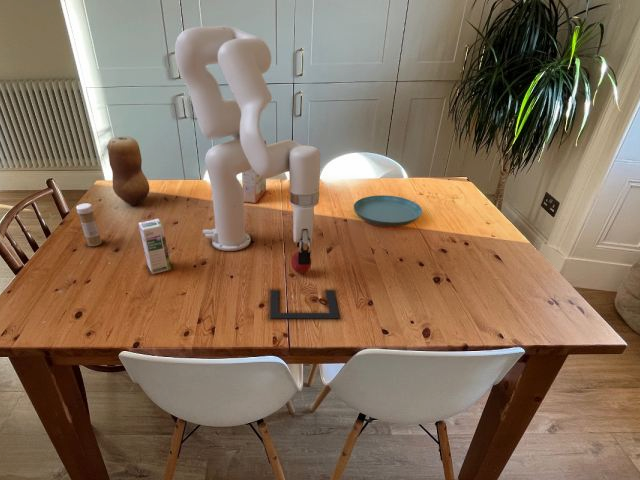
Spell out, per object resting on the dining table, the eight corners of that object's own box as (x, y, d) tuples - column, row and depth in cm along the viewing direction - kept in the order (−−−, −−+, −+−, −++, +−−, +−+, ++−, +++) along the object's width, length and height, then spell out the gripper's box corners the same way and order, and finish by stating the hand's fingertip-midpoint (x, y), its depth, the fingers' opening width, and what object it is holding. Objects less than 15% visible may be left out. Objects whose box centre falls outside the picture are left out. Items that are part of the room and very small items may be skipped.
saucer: (389, 198, 163) (391, 190, 161) (435, 221, 145) (437, 213, 143) (339, 210, 154) (340, 202, 152) (381, 236, 136) (383, 227, 134)
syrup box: (152, 275, 118) (142, 229, 110) (147, 265, 123) (137, 221, 114) (171, 270, 120) (163, 225, 112) (166, 261, 125) (158, 217, 116)
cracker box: (257, 203, 160) (255, 149, 148) (242, 202, 161) (239, 148, 149) (267, 191, 171) (266, 139, 159) (253, 189, 172) (251, 138, 160)
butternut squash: (158, 202, 162) (146, 137, 148) (128, 212, 154) (113, 145, 140) (138, 193, 170) (125, 131, 156) (109, 203, 162) (93, 138, 148)
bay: (270, 318, 101) (270, 318, 101) (271, 291, 111) (271, 290, 111) (339, 319, 101) (339, 318, 101) (333, 291, 111) (333, 290, 111)
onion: (309, 279, 115) (310, 255, 111) (289, 277, 116) (289, 253, 112) (312, 269, 120) (313, 245, 116) (292, 267, 121) (293, 243, 117)
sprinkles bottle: (101, 239, 137) (91, 201, 129) (102, 245, 133) (91, 207, 125) (87, 242, 135) (75, 203, 128) (87, 248, 132) (75, 209, 124)
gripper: (288, 185, 112) (289, 241, 122) (290, 210, 98) (290, 271, 107) (316, 185, 112) (314, 240, 121) (321, 209, 98) (319, 271, 107)
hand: (303, 255), depth 114 cm, fingers open, 9 cm apart
